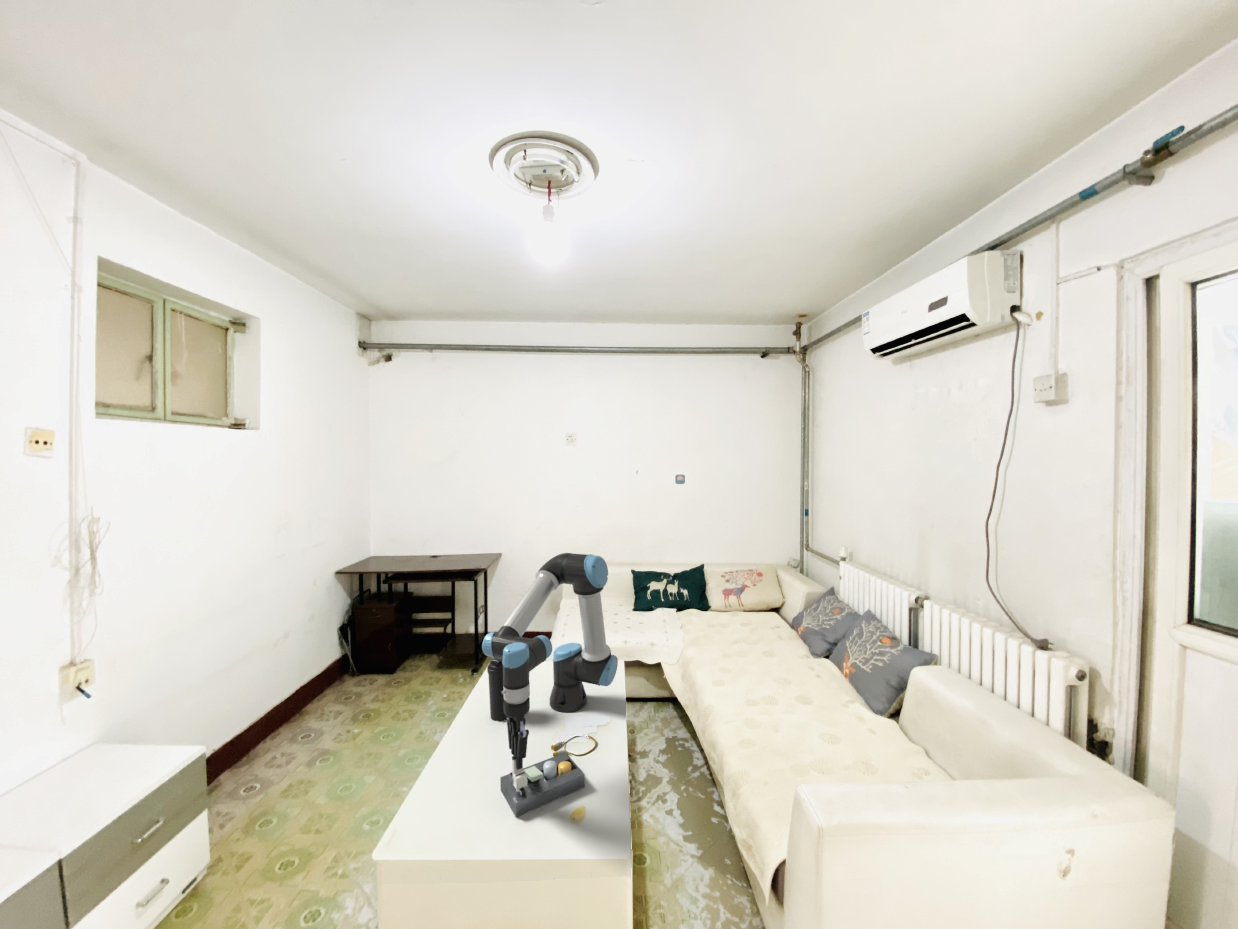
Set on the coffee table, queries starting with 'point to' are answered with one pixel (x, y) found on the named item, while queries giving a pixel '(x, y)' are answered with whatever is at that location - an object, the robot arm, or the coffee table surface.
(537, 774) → the panel
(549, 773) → the blue-grey button
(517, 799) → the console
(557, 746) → the extension cord
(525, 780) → the fader knob
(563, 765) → the amber button
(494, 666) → the water bottle
